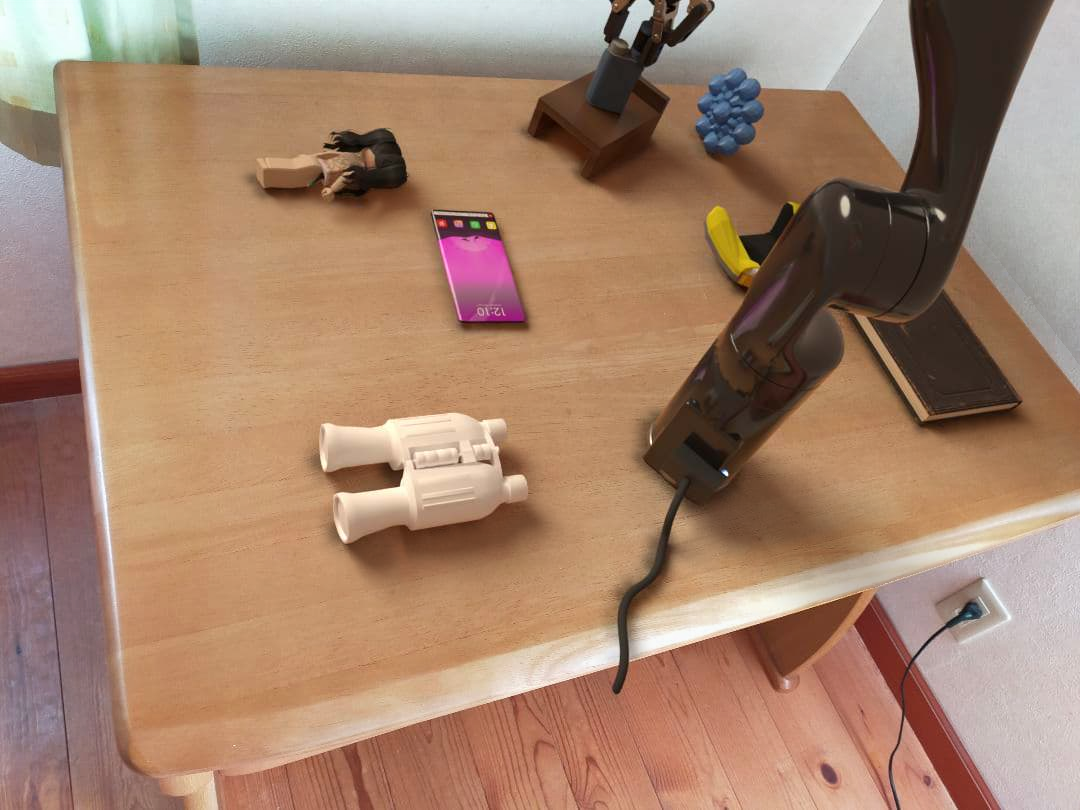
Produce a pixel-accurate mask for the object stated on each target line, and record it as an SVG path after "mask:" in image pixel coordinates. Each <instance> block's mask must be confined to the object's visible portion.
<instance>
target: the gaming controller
mask: <svg viewBox="0 0 1080 810" xmlns="http://www.w3.org/2000/svg"><path fill="white" fill-rule="evenodd" d="M800 205H801V204H799V203H796V202H793V201H787V202H786V203H784V204H783V205H782V206H781V208H780V209H779V212H778V214H777V216H776V218H775V220H774V221H773V224H772V226H771V228H770V229H769V231H768V232H765V233H758V234H757V233H756V234H746V235H745V234H744V235H738V233H737V231H736V229H735V226H734V224H733V220H732V219H731V217H730V215H729V212H728V211H727V209H726V208H723V207H722V206H719V205H716V206H715V207H714V208H712V210H711V211H710V212H709V213H708V214H707V215H706V217H705V218H704V220H703V230H704V239H705V240H706V242H707V243H708V246H709V247H710V249H711V252H712V253H713V255H714V257H715V259H716V261H717V262H718V264H719V265H720V267H722V268H723V270H724V272H726V273H727V277H728V278H729V279H730V280H732V282H734V283H736V284H738V285H740V286H743V287H745V288H749V286H750V284H751V282H752V280H753V278H754V276H755V274H756V273H757V271H758V269H759V268H760V266H761V265H762V263H763V262H764V260H765V259H766V258H767V256H768V255H769V253H770V251H771V250H772V248H773V247H774V245H775V244H776V242H777V241H778V239H779V237H780V236H781V234H782V233H783V231H784V229H785V228H786V226H787V225H788V223H789V221H790V220H791V218H792V217H793V215H794V214H795V212H796V211H797V209H798V208H799V207H800Z"/></svg>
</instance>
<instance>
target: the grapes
mask: <svg viewBox="0 0 1080 810" xmlns="http://www.w3.org/2000/svg"><path fill="white" fill-rule="evenodd" d="M761 89H762V86H761V83H760V81H759V80H758V79H757V78H753V77H748V75H747V72H746V71H745V70H744V69H743V68H739V67H736V68H732V69H731V70H729V72H727V73H726V74H722V73H720V74H716V75H715V76H713V77H712V78H711V80H710V81H709V83H708V91H709V92H707V93H704V94H702V95H701V96H700V97H699V99H698V100H697V104H696V106H697V109H698V111H699V112H700V114H702V116H700V117H699V118H698V119H697V121H696V122H695V125H694V127H695V128H694V129H695V132H696V133H697V134H698V135H699V136H701V137H703V141H702V144H703V148H704V149H705V150H706V152H708V153H711V154H715V153H718V152H719V153H720V154H721V155H722V157H723V156H724V157H727V158H729V157H733V156H735V155H736V154H737V153H738V151H740V147H741V146H746V145H749V144H751V143H752V142H754V140H755V138H756V135H757V134H756V133H757V130H756V127H755V126H754V125H753V124H755V123H759V121H760V120H761V119H762V118H763V116H764V115H765V114H764V113H765V106H764V104H763V103H762V101H760V100H757V99H758V97H759V96H760V94H761V91H762V90H761Z"/></svg>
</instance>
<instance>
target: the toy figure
mask: <svg viewBox="0 0 1080 810" xmlns="http://www.w3.org/2000/svg"><path fill="white" fill-rule="evenodd" d="M338 131H339V132H338ZM395 135H396V134H395V132H393V131H391V128H390V127H380V128H375V129H372V130H369V131H366V132H365V133H364V132H361V133H360V132H358V131H356V130H355V132H354V131H352V130H350V129H347V130H338V129H337V132H336V131H331V132H330V133H329V135H328V140H327V141H329V139H330V141H329V142H323V147H322V150H324V149H327V150H328V151H327V150H324V151H321V152H319V153H315V154H306V153H302V154H299V155H297V156H295V157H294V158H293V157H292V158H287V157H286V158H285V157H265V158H263V157H258V158H255V174H256V175H255V176H256V179H257V181H258V182H259V184H260V185H261V187H262V189H266V188H279V189H280V188H281V189H282V188H284V189H295V188H296V189H297V188H298V189H300V188H304V187H311V186H313V185H315V184H318V183H320V182H321V183H322V185H323V187H324V188H323V189H322V190H321V196H322V198H323V201H324V202H330V201H332V200H334V198H335V195H338V196H340V197H345V198H342V200H343V199H345V200H346V196H347V199H348V198H350V196H352V197H351V198H354V197H363V196H367V195H368V194H369V192H370V191H371V192H373V191H374V190H377V191H378V192H380V191H381V190H387V191H388V190H391V191H389V192H392V190H393V191H396V189H399V188H400V189H402V188H403V186H404V185H406V183H407V181H408V178H409V177H410V175H409V174H408V172H407V165H406V160H405V158H404V157H403V153H402V148H401V147H400V145H399V143H398V142H397V139H396V136H395ZM330 136H331V138H330ZM334 136H335V137H334ZM331 142H332V143H331ZM331 184H332V185H331ZM329 185H330V187H326V186H329ZM346 186H355V187H357V188H348V187H346ZM394 189H395V190H394Z"/></svg>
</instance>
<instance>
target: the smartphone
mask: <svg viewBox="0 0 1080 810" xmlns="http://www.w3.org/2000/svg"><path fill="white" fill-rule="evenodd" d="M430 217H431V221H432V224H433V229H434V232H435V233H434V234H435V236H436V240H437V244H438V247H439V251H440V256H441V259H442V263H443V267H444V270H445V274H446V278H447V282H448V286H449V289H450V293H451V297H452V302H453V305H454V309H455V312H456V316H457V320H458V322H459V323H460V324H524V323H526V322H527V316H526V314H525V311H524V307H523V304H522V300H521V298H520V294H519V291H518V287H517V284H516V281H515V278H514V274H513V271H512V269H511V265H510V262H509V258H508V256H507V255H508V254H507V253H506V248H505V246H504V243H503V239H502V235H501V233H500V230H499V229H500V228H499V226H498V223H497V220H496V216H495V214H494V213H493V212H492V211H474V210H473V211H472V210H455V209H454V210H453V209H432V210H431V211H430Z"/></svg>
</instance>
